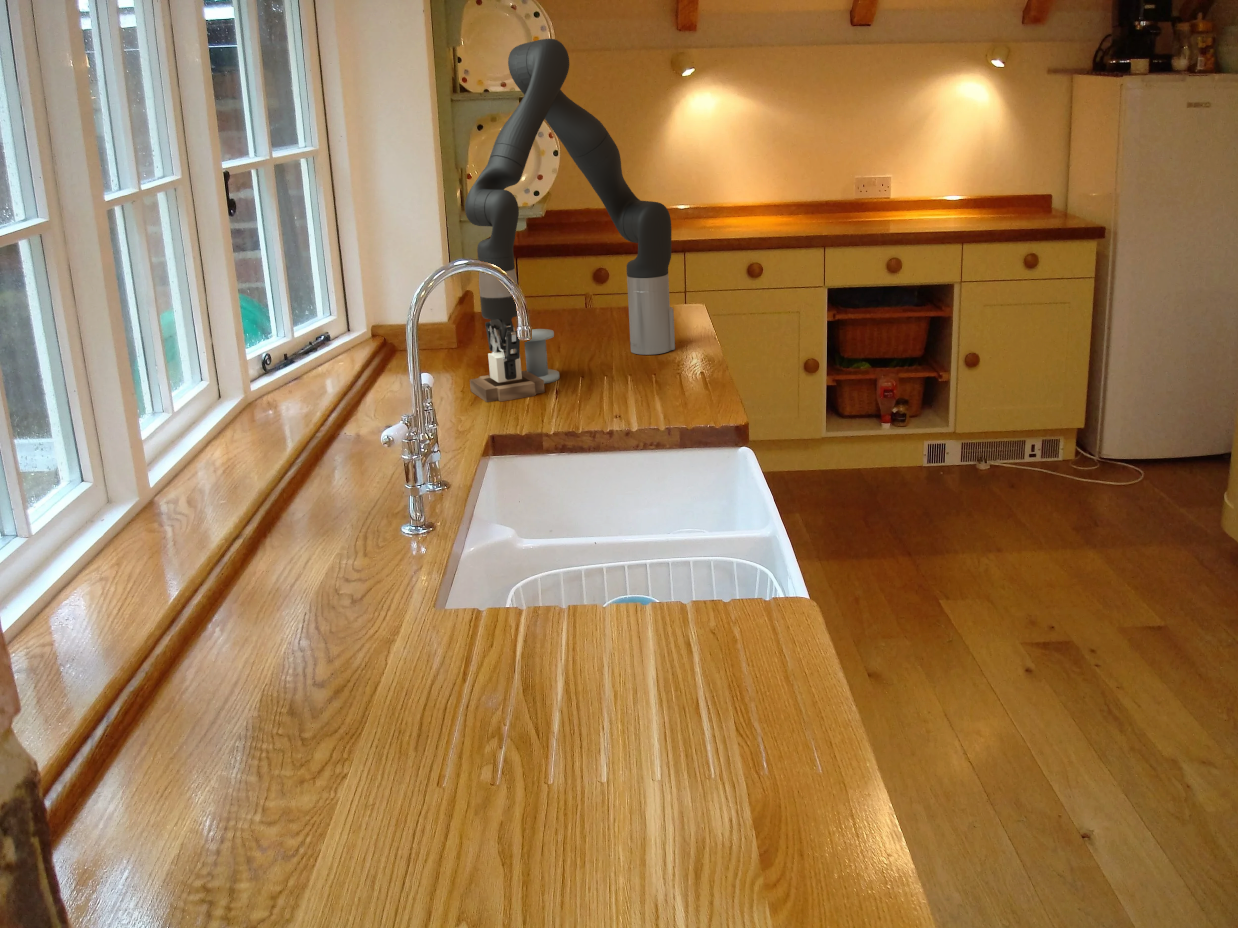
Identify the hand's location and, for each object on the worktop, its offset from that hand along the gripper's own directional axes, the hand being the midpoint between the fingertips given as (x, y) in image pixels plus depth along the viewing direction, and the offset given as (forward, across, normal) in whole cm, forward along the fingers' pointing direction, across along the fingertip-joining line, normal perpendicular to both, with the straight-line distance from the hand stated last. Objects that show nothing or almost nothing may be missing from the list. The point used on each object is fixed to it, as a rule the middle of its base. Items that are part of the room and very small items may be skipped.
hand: (506, 375), depth 245 cm
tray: (+3, 0, 0) cm, 3 cm away
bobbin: (+3, +6, -9) cm, 11 cm away
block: (0, 0, 0) cm, 0 cm away
